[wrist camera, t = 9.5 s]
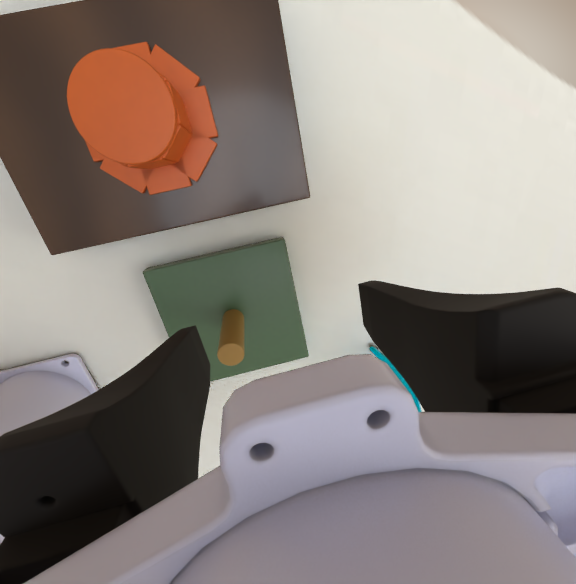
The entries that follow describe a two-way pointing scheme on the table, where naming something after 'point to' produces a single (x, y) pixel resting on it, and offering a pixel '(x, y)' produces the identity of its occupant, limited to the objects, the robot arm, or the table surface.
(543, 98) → the table surface
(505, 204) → the table surface
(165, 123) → the hat
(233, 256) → the stand
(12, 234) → the table surface
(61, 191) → the stand
